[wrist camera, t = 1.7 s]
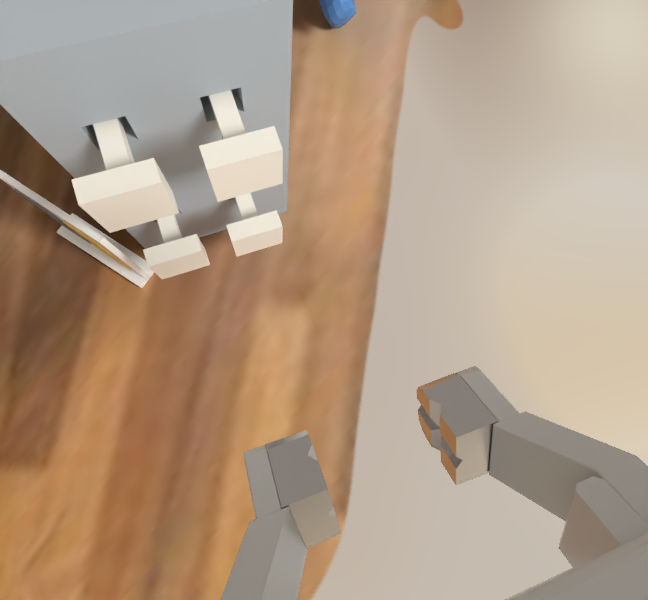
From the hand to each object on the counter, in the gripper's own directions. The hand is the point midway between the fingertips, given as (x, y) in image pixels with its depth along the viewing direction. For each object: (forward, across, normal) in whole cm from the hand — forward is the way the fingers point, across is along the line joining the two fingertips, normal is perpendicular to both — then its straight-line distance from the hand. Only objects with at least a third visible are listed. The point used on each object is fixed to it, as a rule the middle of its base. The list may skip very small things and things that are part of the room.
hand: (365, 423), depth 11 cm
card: (+30, +12, +7) cm, 33 cm away
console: (+32, +2, +4) cm, 32 cm away
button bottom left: (+25, +5, +5) cm, 26 cm away
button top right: (+18, 0, -2) cm, 18 cm away
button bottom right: (+25, 0, +5) cm, 25 cm away
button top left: (+18, +5, -2) cm, 19 cm away
